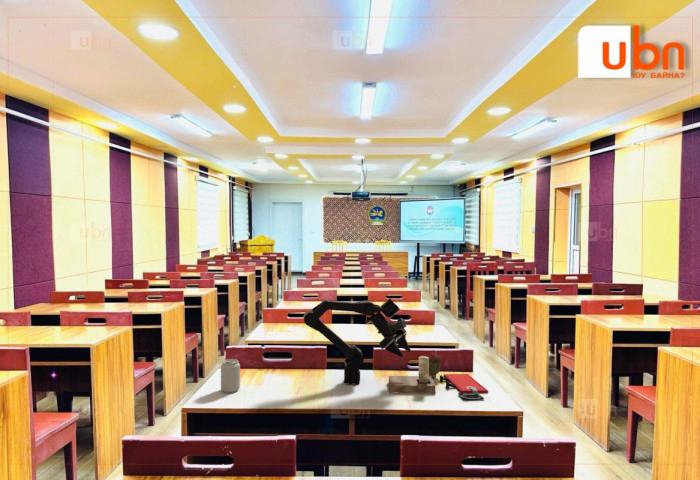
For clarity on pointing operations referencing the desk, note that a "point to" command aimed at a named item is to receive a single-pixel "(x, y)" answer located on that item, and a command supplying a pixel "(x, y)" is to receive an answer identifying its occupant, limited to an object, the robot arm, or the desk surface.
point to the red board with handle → (464, 385)
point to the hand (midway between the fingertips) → (406, 353)
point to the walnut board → (410, 385)
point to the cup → (434, 367)
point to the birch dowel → (423, 370)
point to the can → (230, 375)
